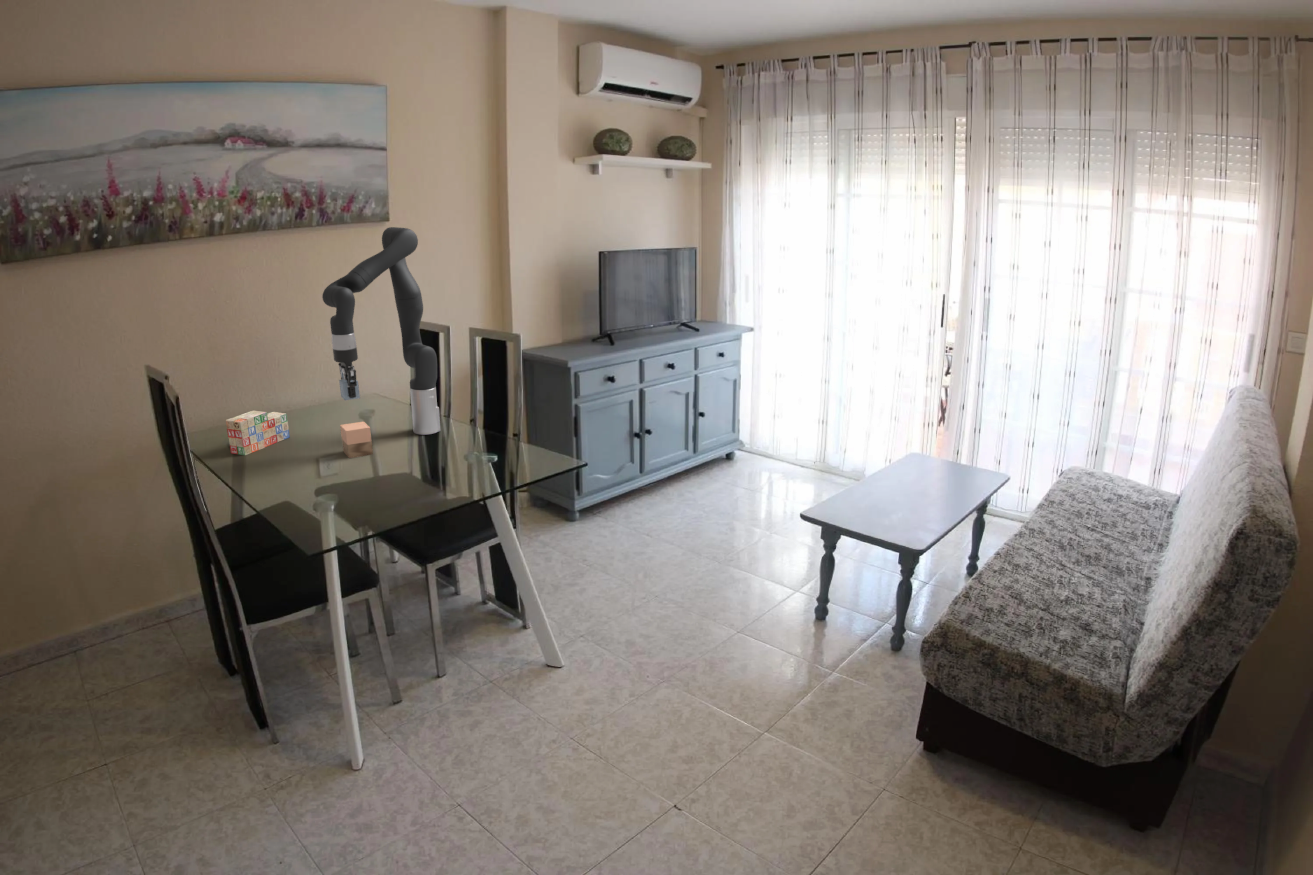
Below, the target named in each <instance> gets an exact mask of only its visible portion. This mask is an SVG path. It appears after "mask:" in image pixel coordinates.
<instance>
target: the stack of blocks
mask: <svg viewBox="0 0 1313 875" xmlns="http://www.w3.org/2000/svg"><path fill="white" fill-rule="evenodd" d="M225 423H226V432H227V437H228V443H229V450H230V454H235V455H241V456H247V455H250V454H251V453H254V452H257V451H260V450H262V449H265V448H267V447H269V446H271V445H274V444H276V443H279V442H282V441H283V440H286V439H289V438H290V430H289V427H290V426H289V421H288V415H287V413H285V412H284V413H283V412H277V411H272V412H268V413H267V411H258V410H251V411H247V412H245V413H242V414H239V415H236V416H234V417H230V418H228V419H225Z"/></svg>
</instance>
